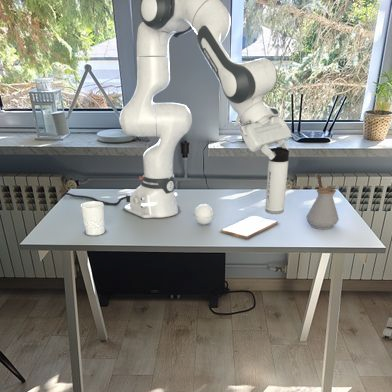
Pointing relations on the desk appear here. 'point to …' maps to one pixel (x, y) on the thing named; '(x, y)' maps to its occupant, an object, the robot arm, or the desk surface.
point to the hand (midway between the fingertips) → (280, 156)
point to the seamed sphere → (203, 214)
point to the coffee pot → (323, 208)
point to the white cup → (93, 217)
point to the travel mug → (277, 181)
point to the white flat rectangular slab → (249, 227)
